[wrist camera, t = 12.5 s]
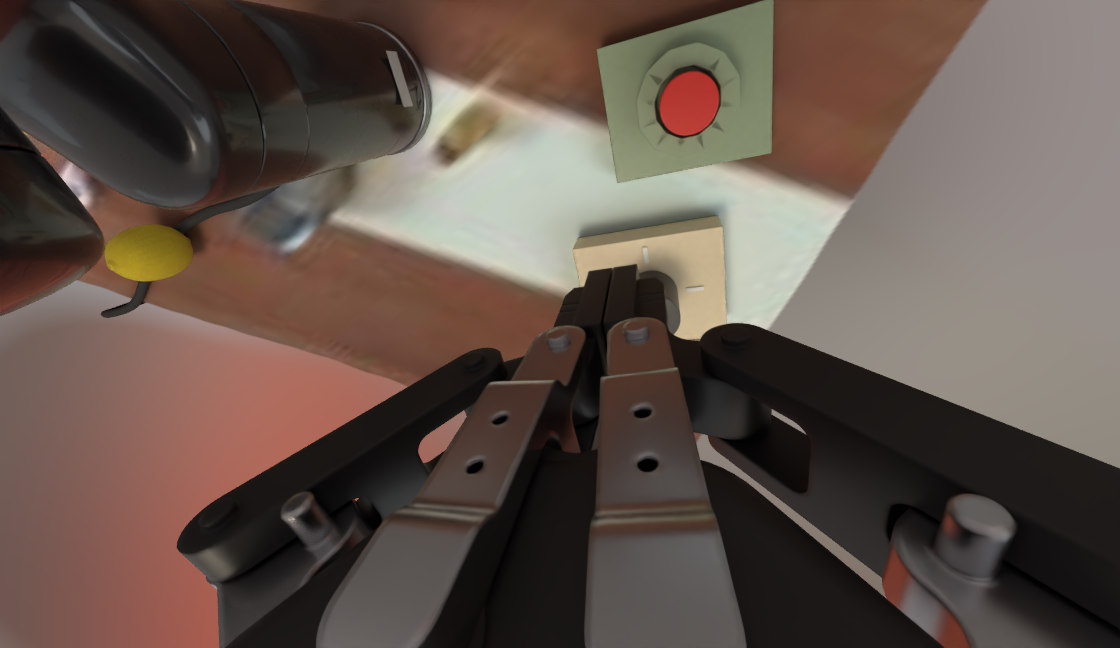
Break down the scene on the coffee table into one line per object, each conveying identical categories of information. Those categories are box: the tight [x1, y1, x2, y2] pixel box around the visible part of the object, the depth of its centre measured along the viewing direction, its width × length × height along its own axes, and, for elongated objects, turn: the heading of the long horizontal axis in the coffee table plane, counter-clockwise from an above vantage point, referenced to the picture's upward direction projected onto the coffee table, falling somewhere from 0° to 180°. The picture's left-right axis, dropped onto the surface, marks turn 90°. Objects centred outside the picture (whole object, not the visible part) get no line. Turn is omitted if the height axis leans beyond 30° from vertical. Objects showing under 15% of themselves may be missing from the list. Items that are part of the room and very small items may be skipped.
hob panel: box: [573, 216, 727, 339], centre depth 37 cm, size 12×10×3 cm
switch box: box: [597, 0, 774, 183], centre depth 29 cm, size 11×9×4 cm
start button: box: [659, 71, 719, 136], centre depth 26 cm, size 4×4×2 cm
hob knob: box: [639, 271, 681, 335], centre depth 33 cm, size 4×4×5 cm
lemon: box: [105, 224, 193, 281], centre depth 43 cm, size 6×6×8 cm
